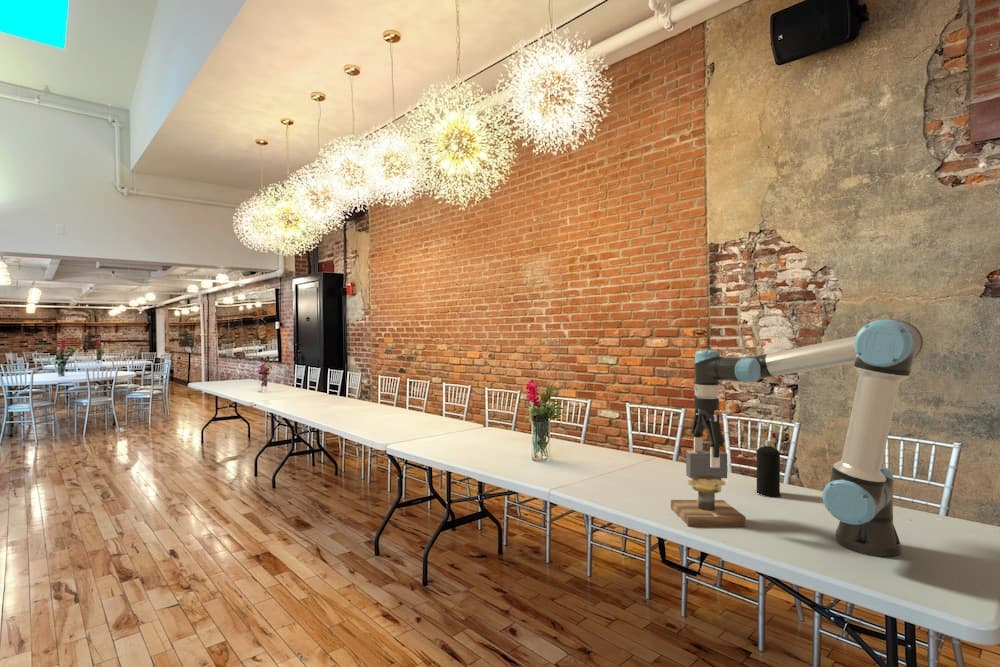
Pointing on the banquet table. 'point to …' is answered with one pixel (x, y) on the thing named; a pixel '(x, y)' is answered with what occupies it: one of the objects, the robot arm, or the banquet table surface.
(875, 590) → the banquet table surface
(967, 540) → the banquet table surface
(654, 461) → the banquet table surface
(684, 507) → the base
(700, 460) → the coupling
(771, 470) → the aerosol can
